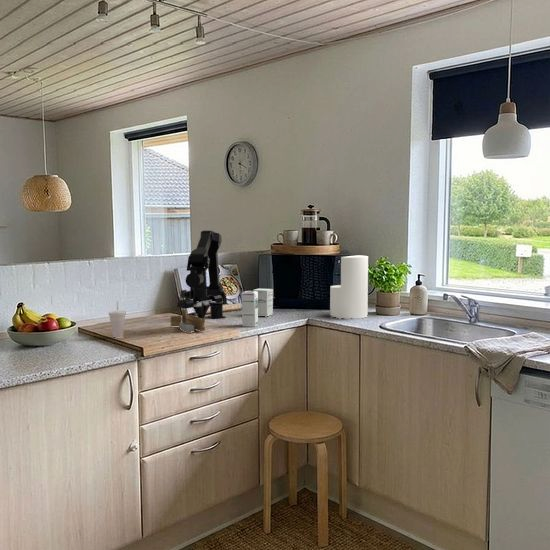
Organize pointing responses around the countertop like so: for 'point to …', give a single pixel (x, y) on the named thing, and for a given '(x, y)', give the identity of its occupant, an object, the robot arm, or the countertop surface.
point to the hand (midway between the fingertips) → (201, 322)
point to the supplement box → (265, 302)
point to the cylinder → (351, 289)
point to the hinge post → (178, 318)
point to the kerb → (186, 326)
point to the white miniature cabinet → (250, 308)
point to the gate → (196, 322)
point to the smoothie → (117, 322)
